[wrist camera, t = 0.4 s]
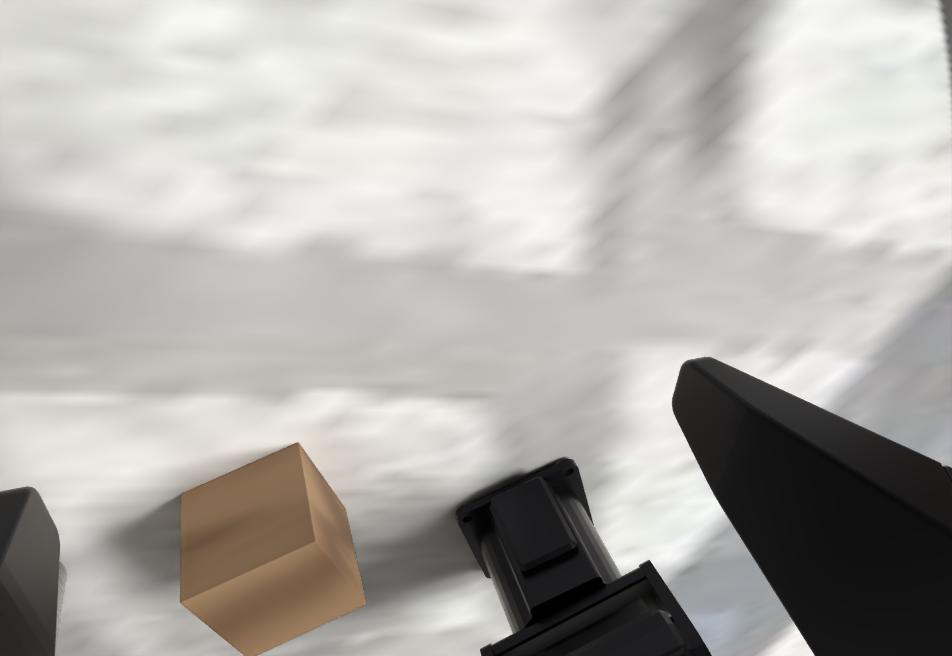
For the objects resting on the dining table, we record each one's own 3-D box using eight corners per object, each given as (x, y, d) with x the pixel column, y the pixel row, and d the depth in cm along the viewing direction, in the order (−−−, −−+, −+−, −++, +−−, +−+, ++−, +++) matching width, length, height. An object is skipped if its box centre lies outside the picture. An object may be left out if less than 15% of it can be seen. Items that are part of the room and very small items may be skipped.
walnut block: (345, 506, 31) (366, 604, 27) (241, 553, 30) (248, 659, 27) (298, 440, 27) (315, 541, 24) (181, 492, 27) (179, 602, 23)
